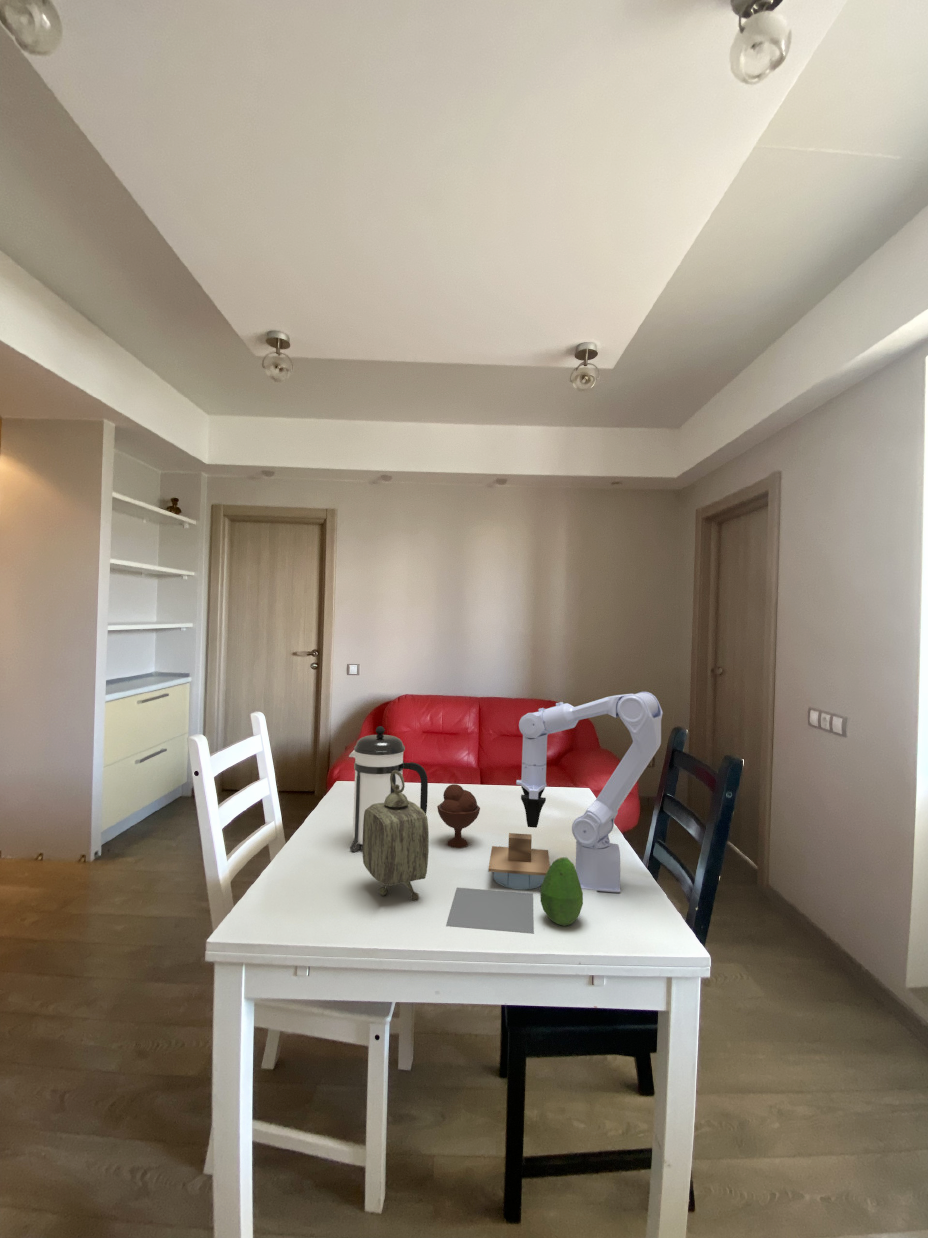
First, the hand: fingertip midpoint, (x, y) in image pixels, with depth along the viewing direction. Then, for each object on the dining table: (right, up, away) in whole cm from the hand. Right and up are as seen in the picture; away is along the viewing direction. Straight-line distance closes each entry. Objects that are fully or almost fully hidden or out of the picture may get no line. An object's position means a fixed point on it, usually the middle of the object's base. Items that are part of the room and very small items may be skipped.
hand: (532, 821), depth 132 cm
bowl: (-4, -10, -8) cm, 13 cm away
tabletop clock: (-31, -9, -16) cm, 36 cm away
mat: (-11, -9, -22) cm, 26 cm away
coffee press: (-37, -10, +11) cm, 40 cm away
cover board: (-4, -6, -8) cm, 11 cm away
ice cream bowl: (-18, -11, +13) cm, 24 cm away
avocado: (+2, -10, -26) cm, 28 cm away
